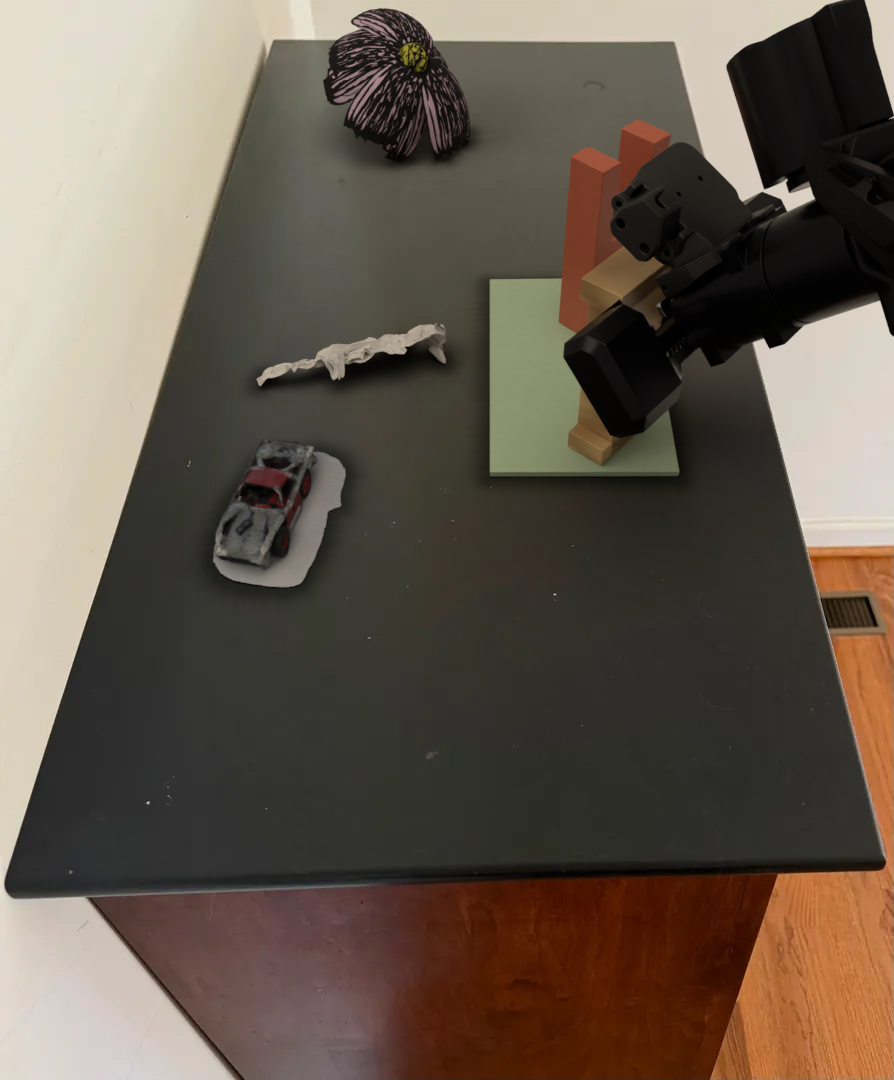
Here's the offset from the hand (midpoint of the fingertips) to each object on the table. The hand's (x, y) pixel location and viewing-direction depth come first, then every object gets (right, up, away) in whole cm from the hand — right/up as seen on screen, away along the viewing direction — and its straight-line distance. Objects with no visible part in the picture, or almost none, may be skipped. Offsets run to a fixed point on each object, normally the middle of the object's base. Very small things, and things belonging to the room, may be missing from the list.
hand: (602, 345), depth 60 cm
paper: (-18, 0, +11) cm, 21 cm away
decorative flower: (-15, +28, +33) cm, 46 cm away
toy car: (-22, -11, +2) cm, 24 cm away
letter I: (+1, -5, +5) cm, 7 cm away
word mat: (-1, 0, +10) cm, 10 cm away
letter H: (+2, +6, +13) cm, 15 cm away
